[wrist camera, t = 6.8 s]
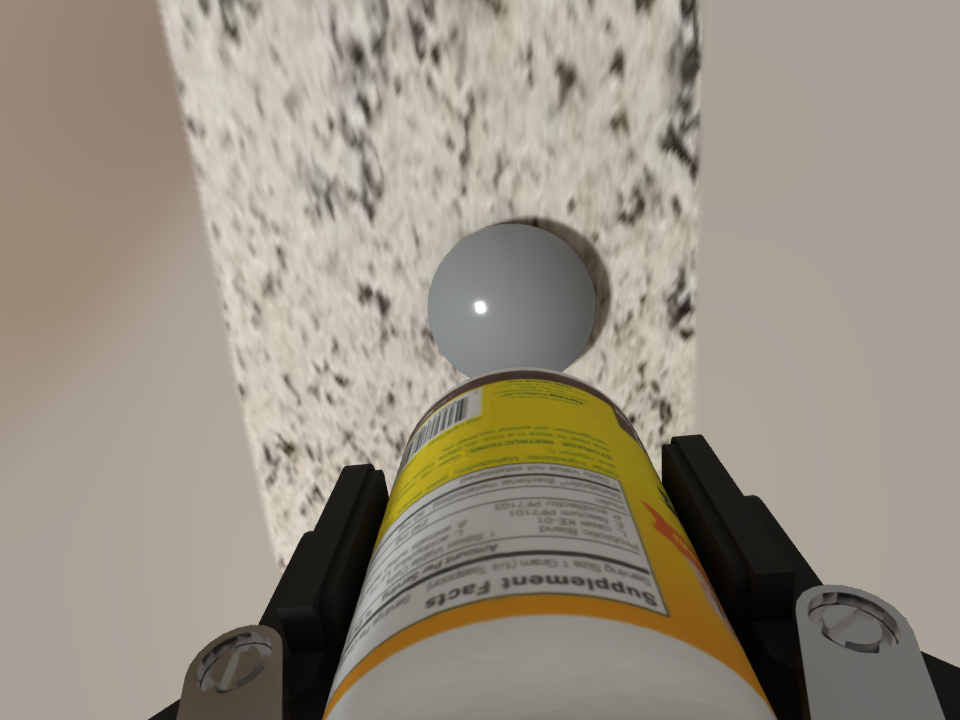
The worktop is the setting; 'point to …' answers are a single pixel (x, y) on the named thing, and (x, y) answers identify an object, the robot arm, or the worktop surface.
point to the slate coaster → (511, 301)
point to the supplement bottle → (536, 574)
